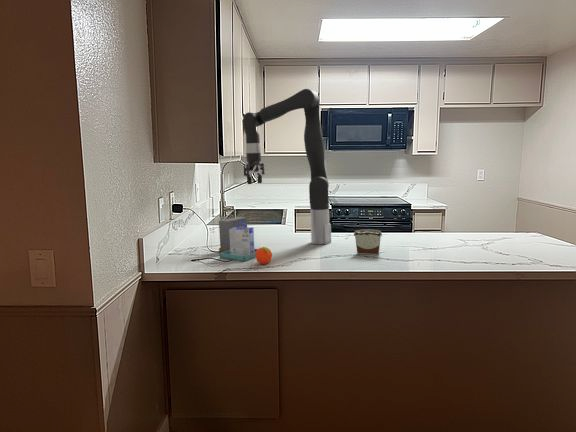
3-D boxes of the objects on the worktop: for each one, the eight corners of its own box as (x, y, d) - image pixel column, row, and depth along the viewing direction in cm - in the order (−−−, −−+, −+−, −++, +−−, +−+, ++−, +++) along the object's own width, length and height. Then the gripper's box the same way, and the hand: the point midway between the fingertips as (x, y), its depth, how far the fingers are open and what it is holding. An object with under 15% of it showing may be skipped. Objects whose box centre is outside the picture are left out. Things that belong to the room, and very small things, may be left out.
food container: (383, 251, 182) (383, 229, 181) (382, 254, 176) (382, 232, 175) (356, 250, 186) (355, 228, 185) (353, 253, 180) (353, 231, 179)
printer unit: (249, 247, 200) (248, 217, 198) (230, 253, 188) (228, 221, 186) (238, 246, 204) (237, 216, 202) (219, 252, 192) (217, 220, 190)
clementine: (276, 264, 167) (276, 247, 166) (261, 267, 163) (261, 250, 162) (267, 260, 173) (266, 244, 172) (252, 263, 170) (252, 246, 169)
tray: (264, 254, 184) (264, 249, 184) (244, 261, 173) (244, 256, 173) (241, 251, 193) (240, 246, 192) (220, 258, 181) (219, 253, 181)
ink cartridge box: (255, 253, 184) (253, 222, 182) (250, 256, 179) (249, 224, 177) (235, 253, 187) (233, 221, 185) (230, 255, 182) (228, 223, 180)
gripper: (250, 152, 203) (251, 184, 206) (267, 152, 215) (268, 182, 217) (238, 152, 208) (240, 184, 210) (256, 152, 219) (257, 182, 222)
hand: (254, 183), depth 214 cm, fingers open, 8 cm apart
